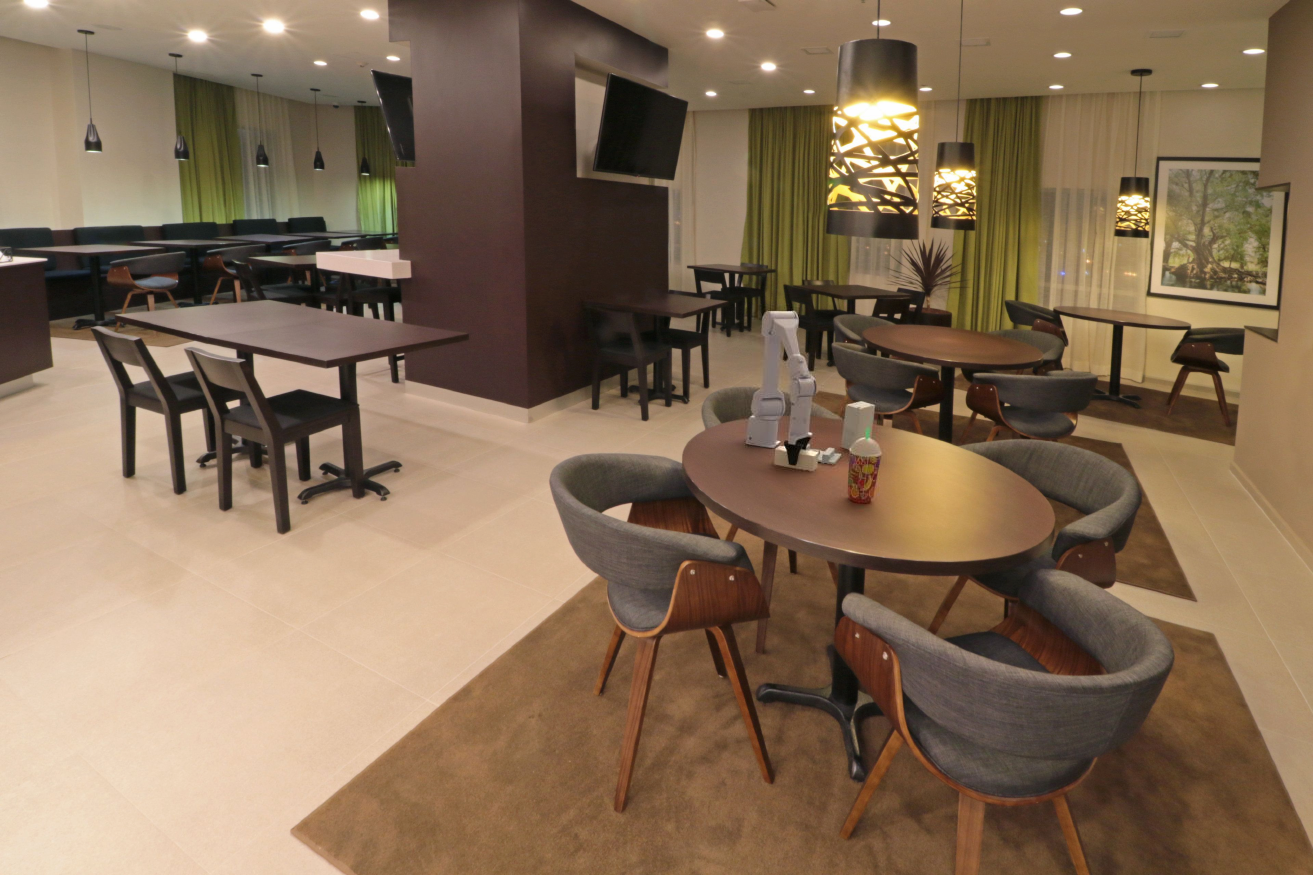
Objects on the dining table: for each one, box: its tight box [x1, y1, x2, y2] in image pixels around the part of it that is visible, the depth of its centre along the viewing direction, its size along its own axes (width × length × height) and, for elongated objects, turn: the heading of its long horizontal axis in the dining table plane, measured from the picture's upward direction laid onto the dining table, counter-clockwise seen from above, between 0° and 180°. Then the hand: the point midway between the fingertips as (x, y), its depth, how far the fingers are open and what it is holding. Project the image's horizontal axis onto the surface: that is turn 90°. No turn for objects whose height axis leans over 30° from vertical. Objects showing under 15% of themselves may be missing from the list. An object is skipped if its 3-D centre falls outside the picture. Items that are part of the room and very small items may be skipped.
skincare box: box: [840, 400, 876, 451], centre depth 256 cm, size 8×6×15 cm
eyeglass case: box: [773, 445, 819, 472], centre depth 237 cm, size 12×4×5 cm, turn 64°
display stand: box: [806, 443, 842, 466], centre depth 247 cm, size 14×10×3 cm
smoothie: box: [846, 428, 883, 504], centre depth 209 cm, size 8×8×20 cm
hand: (795, 461), depth 237 cm, fingers open, 7 cm apart
